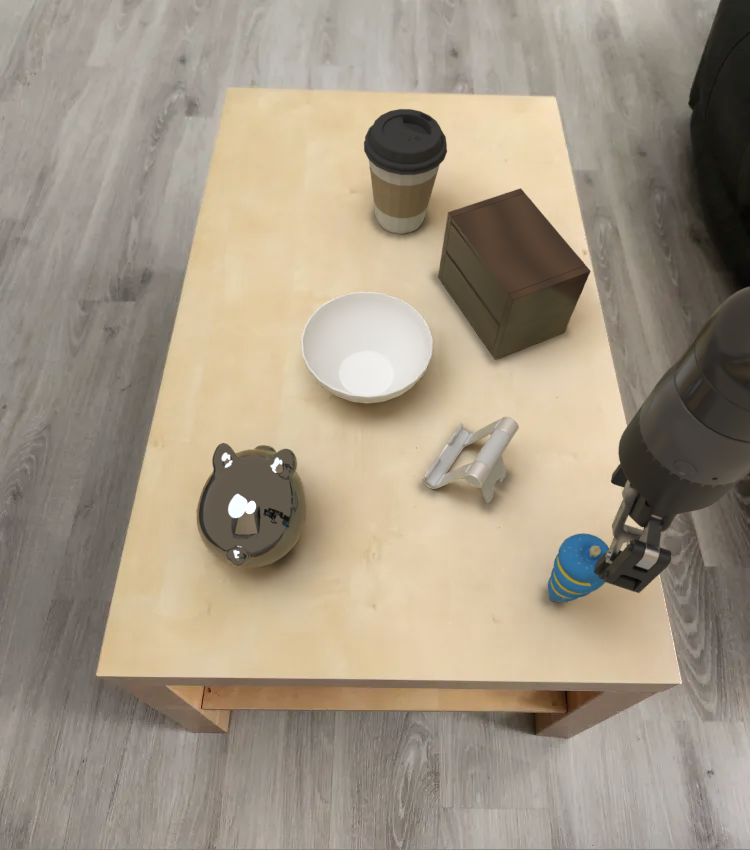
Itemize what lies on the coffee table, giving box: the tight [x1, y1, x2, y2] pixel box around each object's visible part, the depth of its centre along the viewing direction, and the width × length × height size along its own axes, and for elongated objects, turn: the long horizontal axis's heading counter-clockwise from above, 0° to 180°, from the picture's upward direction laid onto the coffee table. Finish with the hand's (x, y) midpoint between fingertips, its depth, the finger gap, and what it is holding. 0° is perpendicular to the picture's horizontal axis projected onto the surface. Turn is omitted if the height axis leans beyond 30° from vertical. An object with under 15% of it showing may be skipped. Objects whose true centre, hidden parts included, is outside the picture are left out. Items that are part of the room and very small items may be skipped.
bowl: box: [300, 290, 434, 404], centre depth 85 cm, size 16×16×7 cm
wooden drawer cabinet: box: [437, 188, 591, 361], centre depth 90 cm, size 11×16×12 cm
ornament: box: [547, 533, 610, 603], centre depth 68 cm, size 5×5×15 cm
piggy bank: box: [196, 442, 307, 570], centre depth 72 cm, size 11×15×12 cm
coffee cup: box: [363, 108, 448, 235], centre depth 97 cm, size 11×11×15 cm
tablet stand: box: [422, 416, 520, 504], centre depth 78 cm, size 9×8×8 cm
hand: (614, 526), depth 57 cm, fingers open, 8 cm apart
